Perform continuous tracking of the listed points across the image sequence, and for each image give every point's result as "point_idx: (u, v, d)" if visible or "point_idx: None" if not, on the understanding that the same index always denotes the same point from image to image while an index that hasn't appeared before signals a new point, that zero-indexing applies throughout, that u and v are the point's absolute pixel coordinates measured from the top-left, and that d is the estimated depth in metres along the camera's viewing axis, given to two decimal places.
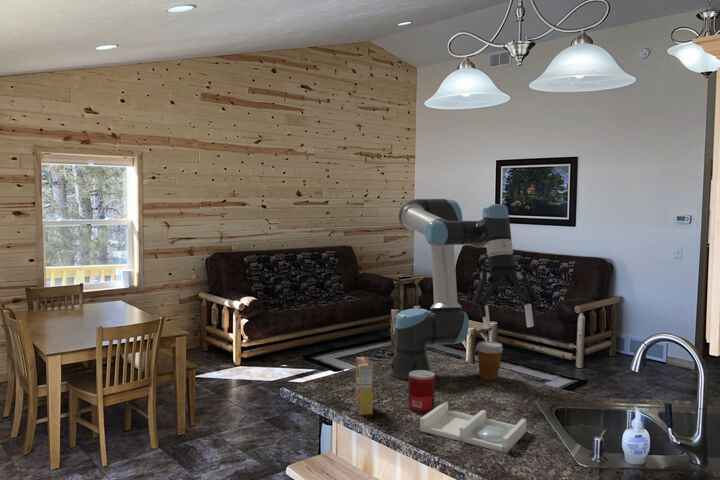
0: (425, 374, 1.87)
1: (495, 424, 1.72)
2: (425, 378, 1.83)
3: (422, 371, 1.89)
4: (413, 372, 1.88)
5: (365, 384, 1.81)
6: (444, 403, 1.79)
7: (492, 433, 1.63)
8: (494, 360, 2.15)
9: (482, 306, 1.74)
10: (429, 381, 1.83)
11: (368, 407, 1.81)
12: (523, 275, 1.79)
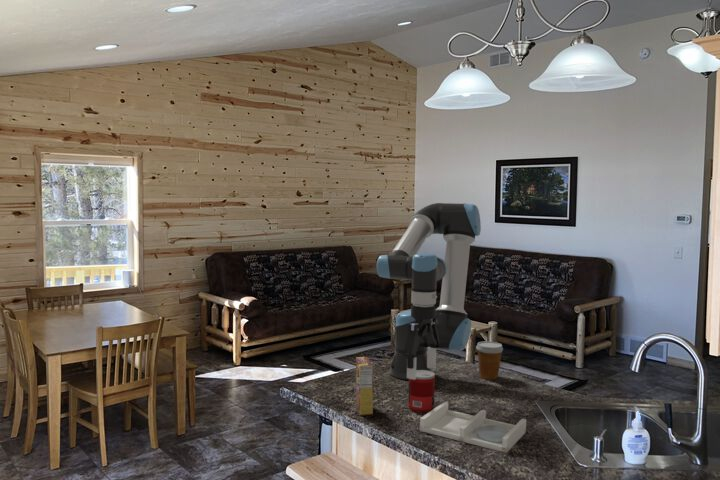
0: (425, 374, 1.87)
1: (495, 424, 1.72)
2: (425, 378, 1.83)
3: (422, 371, 1.89)
4: None
5: (365, 384, 1.81)
6: (444, 403, 1.79)
7: (492, 433, 1.63)
8: (494, 360, 2.15)
9: (412, 358, 1.79)
10: (429, 381, 1.83)
11: (368, 407, 1.81)
12: (435, 322, 1.90)
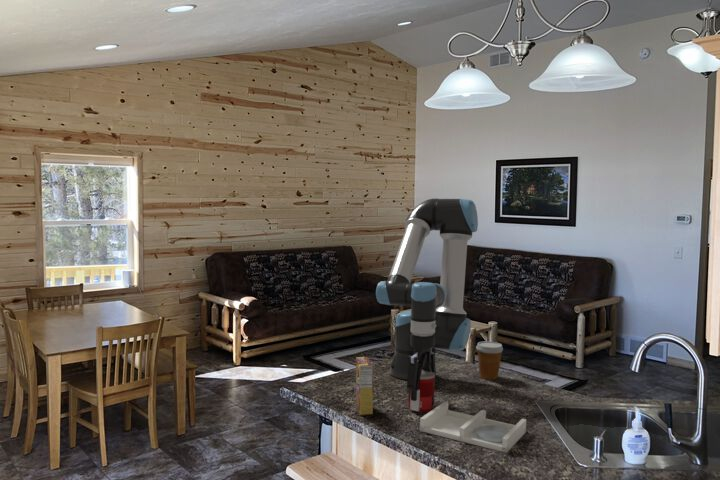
0: (425, 374, 1.87)
1: (495, 424, 1.72)
2: (425, 378, 1.83)
3: (422, 371, 1.89)
4: None
5: (365, 384, 1.81)
6: (444, 403, 1.79)
7: (492, 433, 1.63)
8: (494, 360, 2.15)
9: (416, 390, 1.82)
10: (429, 381, 1.83)
11: (368, 407, 1.81)
12: (433, 352, 1.90)
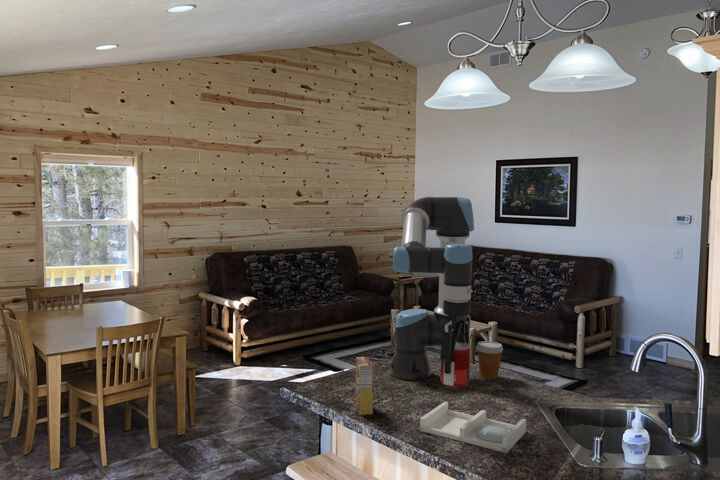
0: (459, 345, 1.69)
1: (495, 424, 1.72)
2: (460, 349, 1.65)
3: None
4: None
5: (365, 384, 1.81)
6: (444, 403, 1.79)
7: (492, 433, 1.63)
8: (494, 360, 2.15)
9: (450, 363, 1.65)
10: (464, 352, 1.66)
11: (368, 407, 1.81)
12: (468, 322, 1.73)
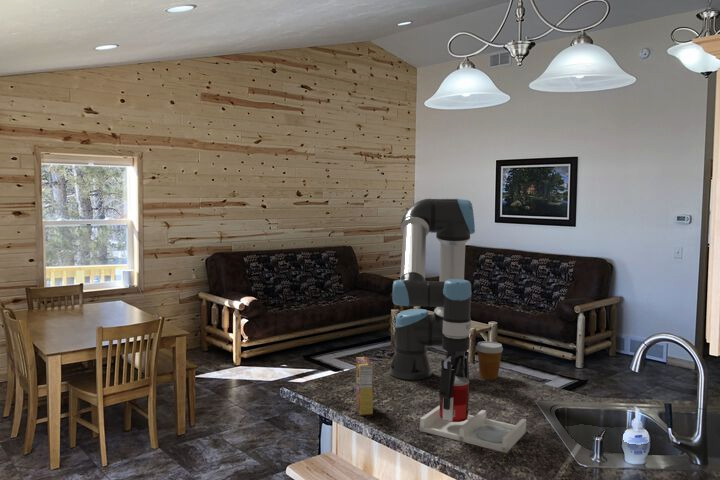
0: (458, 379, 1.70)
1: (495, 424, 1.72)
2: (459, 385, 1.66)
3: None
4: None
5: (365, 384, 1.81)
6: None
7: (492, 433, 1.63)
8: (494, 360, 2.15)
9: (449, 398, 1.65)
10: (463, 387, 1.67)
11: (368, 407, 1.81)
12: (467, 356, 1.73)
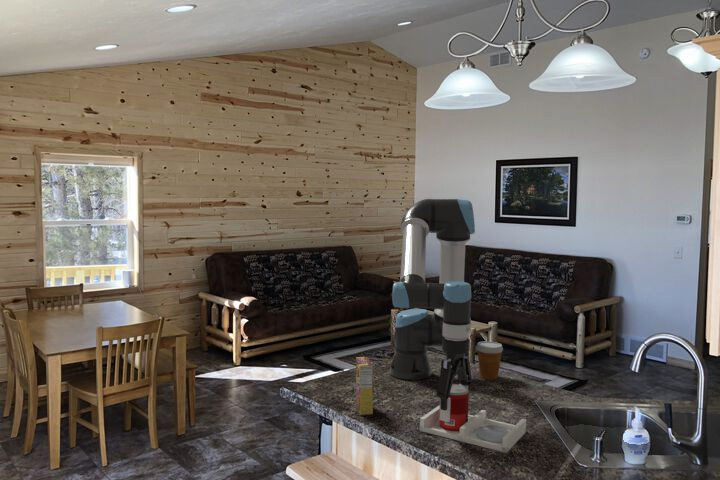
0: (458, 389, 1.71)
1: (495, 424, 1.72)
2: (459, 394, 1.66)
3: (454, 385, 1.73)
4: None
5: (365, 384, 1.81)
6: None
7: (492, 433, 1.63)
8: (494, 360, 2.15)
9: (446, 399, 1.64)
10: (463, 397, 1.67)
11: (368, 407, 1.81)
12: (467, 356, 1.74)
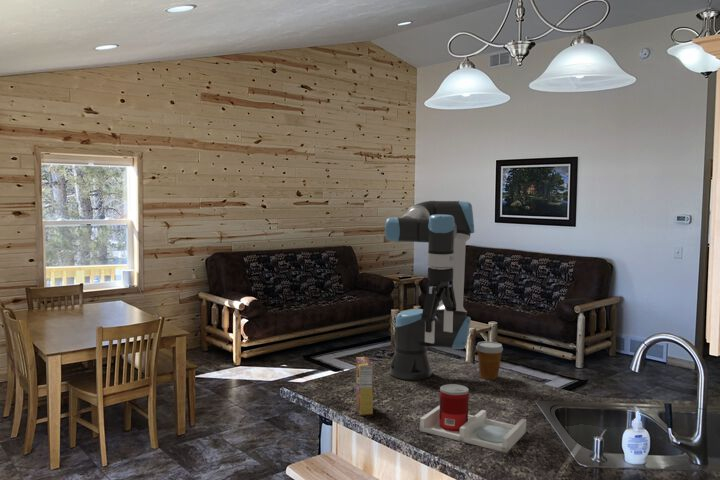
0: (458, 389, 1.71)
1: (495, 424, 1.72)
2: (459, 394, 1.66)
3: (454, 385, 1.73)
4: (444, 387, 1.72)
5: (365, 384, 1.81)
6: None
7: (492, 433, 1.63)
8: (494, 360, 2.15)
9: (430, 322, 1.74)
10: (463, 397, 1.67)
11: (368, 407, 1.81)
12: (451, 284, 1.85)
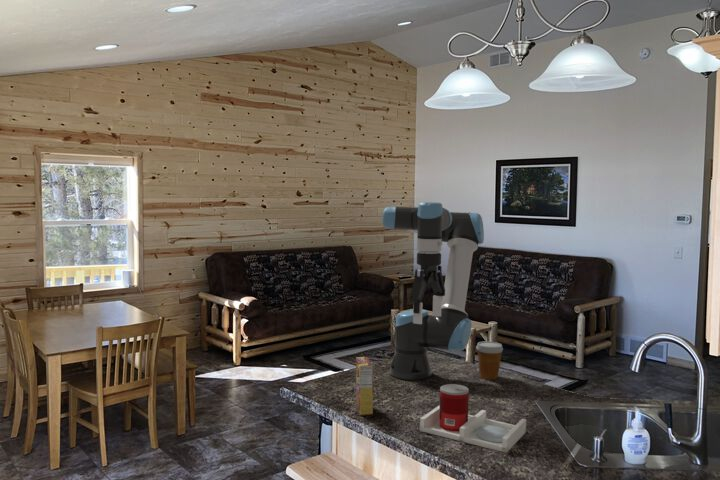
0: (458, 389, 1.71)
1: (495, 424, 1.72)
2: (459, 394, 1.66)
3: (454, 385, 1.73)
4: (444, 387, 1.72)
5: (365, 384, 1.81)
6: None
7: (492, 433, 1.63)
8: (494, 360, 2.15)
9: (418, 303, 1.82)
10: (463, 397, 1.67)
11: (368, 407, 1.81)
12: (440, 270, 1.93)
